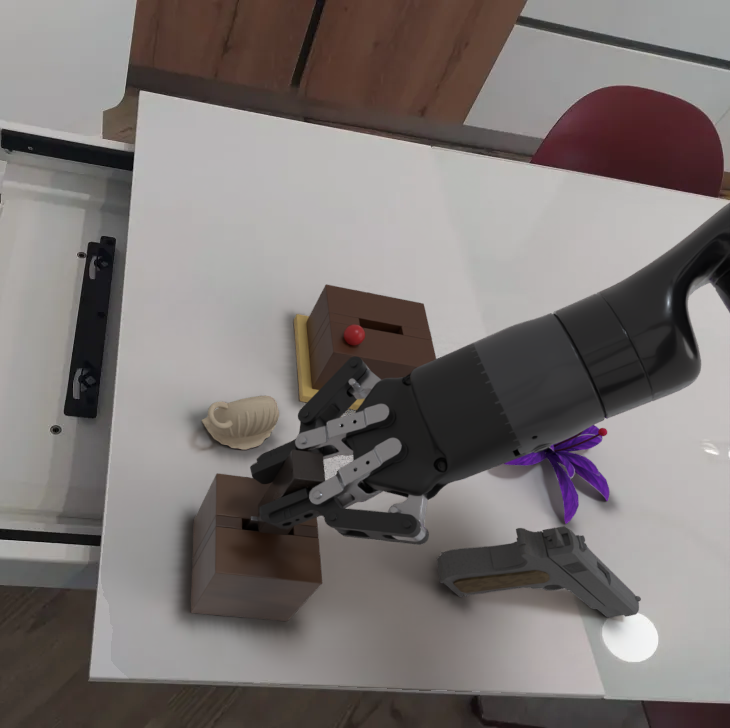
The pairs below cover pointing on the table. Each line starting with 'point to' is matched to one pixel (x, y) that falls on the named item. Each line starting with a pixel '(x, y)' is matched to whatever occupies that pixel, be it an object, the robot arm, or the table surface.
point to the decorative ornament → (242, 421)
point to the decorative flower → (571, 466)
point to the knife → (290, 485)
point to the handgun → (539, 570)
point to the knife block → (249, 557)
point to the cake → (360, 337)
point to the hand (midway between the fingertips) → (261, 496)
